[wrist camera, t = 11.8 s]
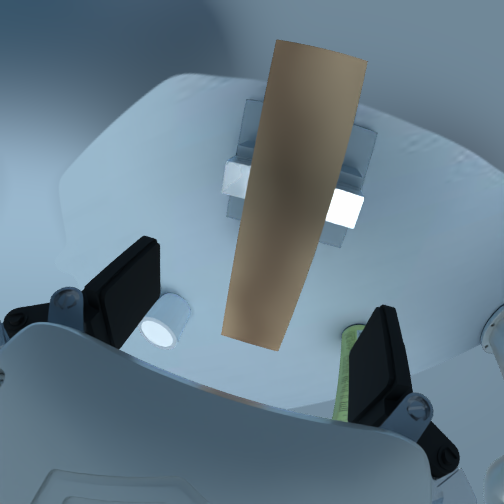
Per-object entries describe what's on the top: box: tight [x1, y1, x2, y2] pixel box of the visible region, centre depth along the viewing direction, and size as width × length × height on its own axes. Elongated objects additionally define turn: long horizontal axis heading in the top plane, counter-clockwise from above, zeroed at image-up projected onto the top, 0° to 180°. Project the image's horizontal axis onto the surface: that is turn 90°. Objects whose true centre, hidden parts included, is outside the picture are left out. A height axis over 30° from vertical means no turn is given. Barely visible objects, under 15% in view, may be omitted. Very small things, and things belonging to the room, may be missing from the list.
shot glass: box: [138, 293, 191, 350], centre depth 42 cm, size 7×7×7 cm
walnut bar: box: [221, 40, 368, 351], centre depth 20 cm, size 5×22×7 cm, turn 170°
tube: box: [332, 325, 365, 422], centre depth 31 cm, size 6×5×20 cm
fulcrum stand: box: [221, 99, 377, 248], centre depth 27 cm, size 14×14×8 cm
